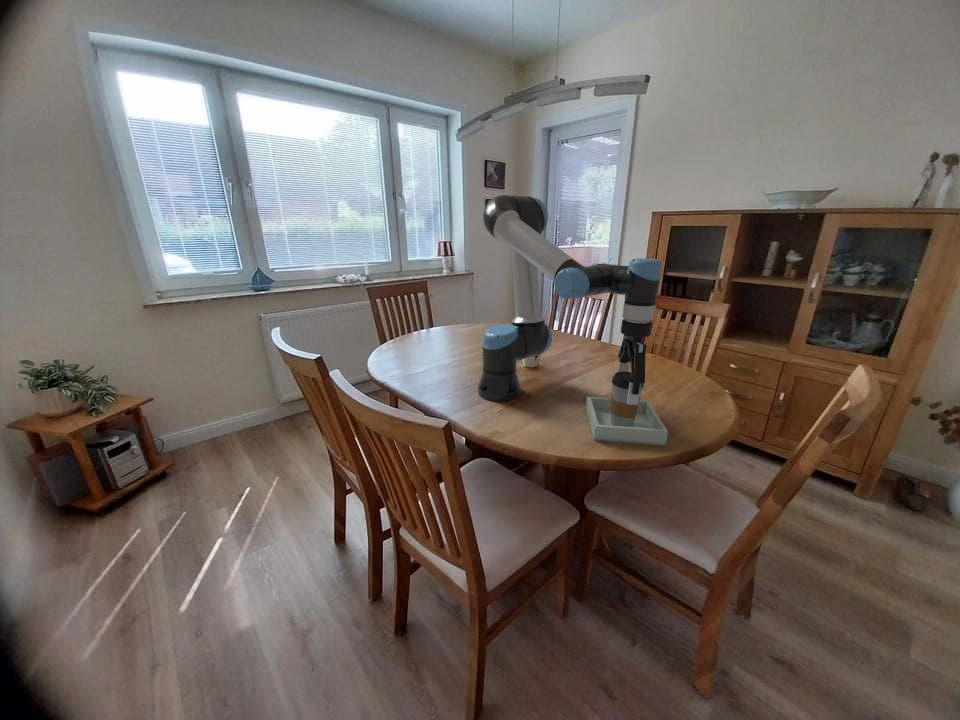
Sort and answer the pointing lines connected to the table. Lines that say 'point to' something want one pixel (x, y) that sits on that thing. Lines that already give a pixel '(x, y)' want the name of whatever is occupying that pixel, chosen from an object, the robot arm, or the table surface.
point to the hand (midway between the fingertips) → (626, 393)
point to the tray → (642, 431)
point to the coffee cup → (622, 401)
